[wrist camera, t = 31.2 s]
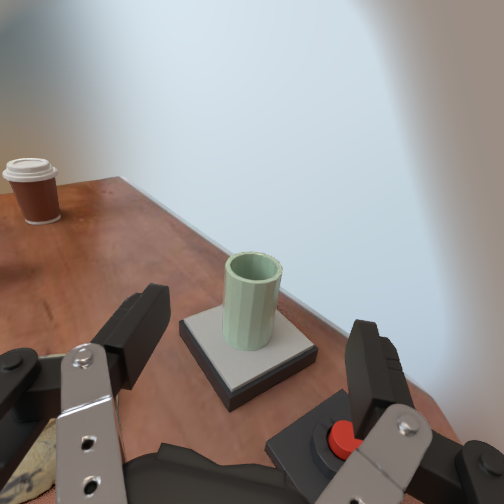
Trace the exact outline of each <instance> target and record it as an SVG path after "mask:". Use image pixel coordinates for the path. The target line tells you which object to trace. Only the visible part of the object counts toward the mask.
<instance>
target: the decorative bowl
mask: <svg viewBox="0 0 504 504" xmlns="http://www.w3.org/2000/svg"><path fill="white" fill-rule="evenodd" d="M65 355H66V354H52V355H46V356H41V357H39V358H47V357H59V356H65ZM116 399H117V405H118V400H119V399H118V394H117V396H116ZM56 419H57V418H54V419H50V421H49V422H48V424H47V425H46V427H45V428H44V430H43V431H42V433H41V434H40V435H39V437H38V438H37V440H36V441H35V443H34V444H33V446H32V447H31V449H30V450H29V451H28V453H27V454H26V456H25V457H24V459H23V460H22V462H21V463H20V465H19V466H18V467H17V469H16V470H15V472H14V473H13V475H12V476H11V478H10V479H9V481H8V482H7V483H6V485H5V486H4V488H3V489H2V491H1V492H0V504H20V503H22V502H25V501H27V500H29V499H34V498H36V497H37V496H38V495H39V494H42V493H43V492H44V491H46V490H49V489H50V487H51V486H52V484H56Z"/></svg>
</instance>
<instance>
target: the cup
mask: <svg viewBox="0 0 504 504" xmlns="http://www.w3.org/2000/svg"><path fill="white" fill-rule="evenodd" d="M282 270H283V268H282V266H281V264H280V263H279V261H277V260H276V259H275V258H274V257H272V256H269V255H266V254H264V253H259V252H241V253H238V254H235V255H233V256H231V257H230V258H228V260H227V262H226V264H225V278H224V296H223V314H222V335H223V337H224V339H225V341H226V342H227V343H228V344H229V345H231V346H232V347H234V348H236V349H239V350H244V351H253V350H258V349H260V348H262V347H264V346H265V345H266V344H267V343H268V342H269V341H270V339H271V335H272V329H273V323H274V317H275V311H276V306H277V300H278V294H279V288H280V282H281V276H282Z"/></svg>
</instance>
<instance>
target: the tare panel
mask: <svg viewBox="0 0 504 504" xmlns="http://www.w3.org/2000/svg"><path fill="white" fill-rule="evenodd" d="M341 420H345V421H349V422H351V423H352V415H351V407H350V399H349V395H348V394H347V393H346V392H345V391H344V390H343V389H341V390H340V391H338V392H337V393H335V394H334V395H333V396H331V397H330V398H328V399H327V400H325V401H324V402H322V403H321V404H320V405H318V406H317V407H315V408H314V409H312V410H311V411H310V412H308V413H307V414H305V415H304V416H302V417H301V418H300V419H298V420H297V421H295V422H294V423H292V424H291V425H290V426H288V427H287V428H285V429H284V430H282V431H281V432H280V433H278V434H277V435H275V436H274V437H272V438H271V439H270V440H268V441H267V442H266V445H265V451H266V452H267V454H268V455H269V457H270V458H271V460H272V461H273V463H274V464H275V466H276V467H277V469H281V470H285V471H286V482H288V483H290V484H291V485H293V486H294V487H295V488H297V489H298V490H299V491H300V492H301V493H302V494H303V495H305V496H306V498H307V499H308V500H309V501H310V502H311V504H314V503H315V502H316V501H317V499H318V498H319V497H320V495H321V494H322V493H323V491H324V490H325V488H326V487H327V486H328V484H329V483H330V482H331V480H332V479H333V478H334V476H335V475H336V474H337V472H338V471H339V470H340V468H341V467H342V466H343V464H344V463H345V462H346V460H343V459H341V458H339V457H337V456H336V455H335V454H334V453H333V451H332V450H331V448H330V445H329V435H330V432H331V430H332V427H333V425H334V424H335V423H336V422H338V421H341ZM363 441H364V440H363Z"/></svg>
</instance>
